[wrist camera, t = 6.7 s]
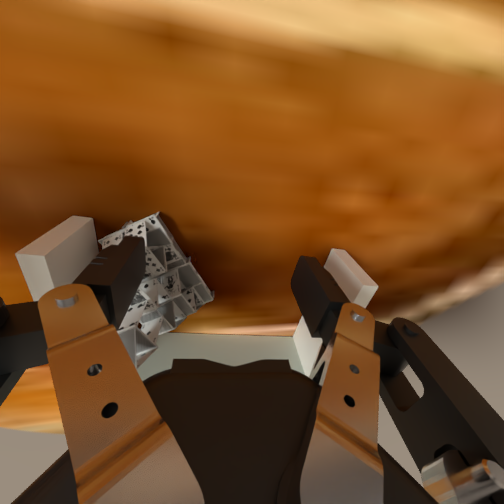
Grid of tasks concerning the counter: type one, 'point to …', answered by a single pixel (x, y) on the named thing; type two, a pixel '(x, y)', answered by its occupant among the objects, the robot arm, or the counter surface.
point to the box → (184, 344)
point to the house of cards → (158, 288)
